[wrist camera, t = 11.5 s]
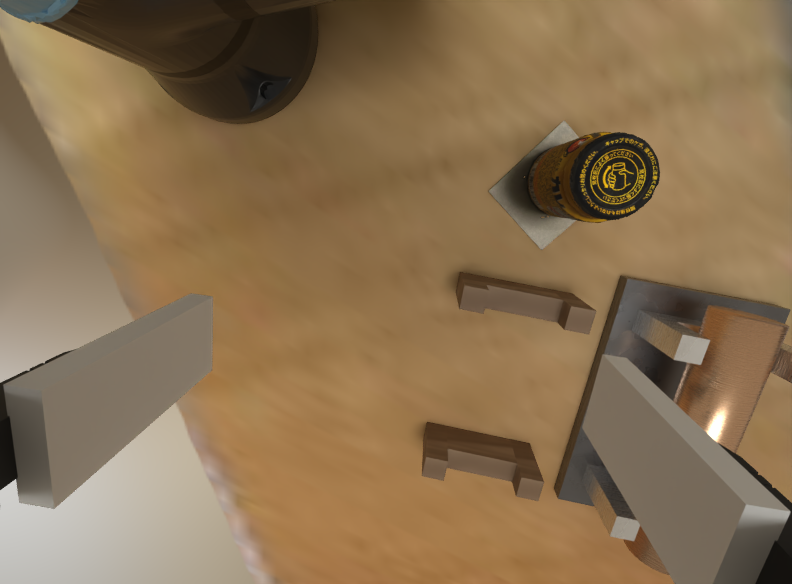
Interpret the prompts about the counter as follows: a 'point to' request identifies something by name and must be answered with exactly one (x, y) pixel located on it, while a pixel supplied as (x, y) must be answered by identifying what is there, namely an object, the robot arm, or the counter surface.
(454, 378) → the counter surface
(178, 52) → the robot arm
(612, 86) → the counter surface
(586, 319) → the walnut rack
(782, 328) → the tube
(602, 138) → the condiment
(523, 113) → the counter surface
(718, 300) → the plate
